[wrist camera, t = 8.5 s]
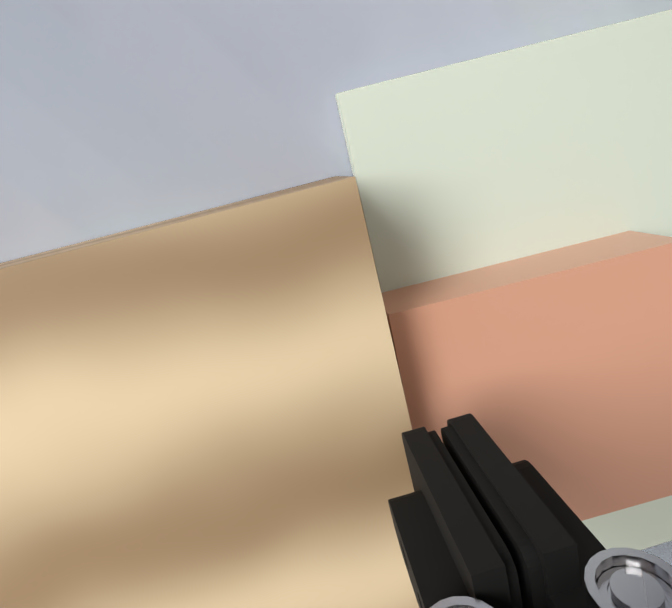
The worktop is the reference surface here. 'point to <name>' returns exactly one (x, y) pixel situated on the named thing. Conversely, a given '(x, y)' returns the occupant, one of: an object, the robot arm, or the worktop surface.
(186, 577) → the oak board
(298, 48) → the worktop surface
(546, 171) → the sage mat
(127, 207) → the worktop surface
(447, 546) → the robot arm
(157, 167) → the worktop surface
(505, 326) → the terracotta coaster
